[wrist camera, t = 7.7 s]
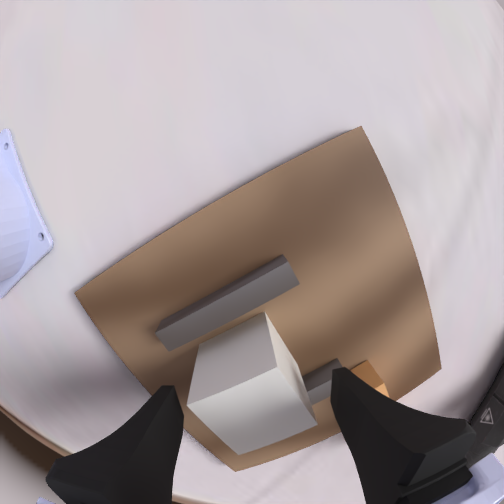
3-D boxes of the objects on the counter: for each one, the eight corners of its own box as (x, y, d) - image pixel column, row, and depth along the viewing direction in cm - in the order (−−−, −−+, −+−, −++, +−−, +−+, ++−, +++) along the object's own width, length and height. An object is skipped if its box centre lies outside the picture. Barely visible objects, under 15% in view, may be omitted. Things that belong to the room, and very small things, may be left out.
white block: (199, 344, 15) (186, 405, 10) (264, 311, 14) (277, 366, 10) (237, 392, 16) (238, 455, 11) (297, 364, 15) (317, 424, 10)
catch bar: (350, 370, 16) (365, 394, 13) (367, 359, 15) (384, 382, 13) (381, 435, 17) (392, 455, 15) (393, 428, 17) (405, 448, 15)
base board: (82, 287, 15) (61, 302, 12) (354, 129, 14) (374, 119, 11) (234, 463, 18) (235, 485, 16) (434, 362, 17) (451, 378, 15)
